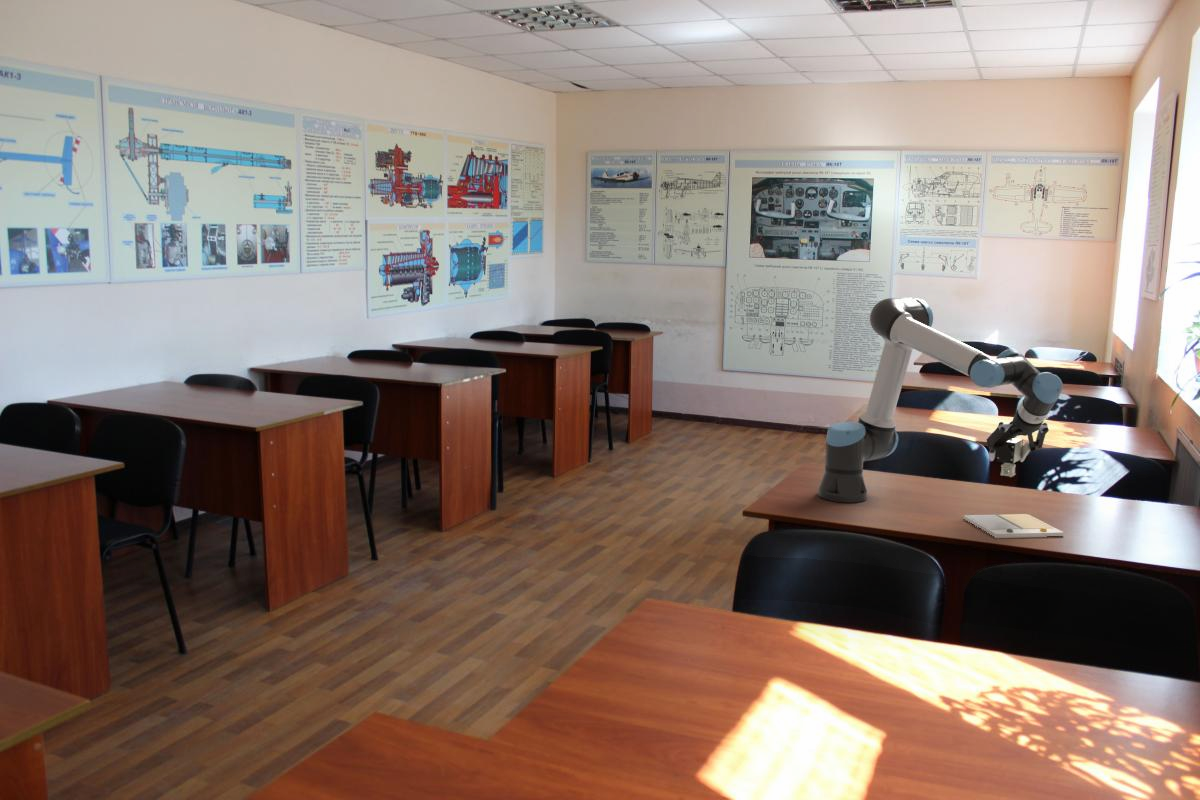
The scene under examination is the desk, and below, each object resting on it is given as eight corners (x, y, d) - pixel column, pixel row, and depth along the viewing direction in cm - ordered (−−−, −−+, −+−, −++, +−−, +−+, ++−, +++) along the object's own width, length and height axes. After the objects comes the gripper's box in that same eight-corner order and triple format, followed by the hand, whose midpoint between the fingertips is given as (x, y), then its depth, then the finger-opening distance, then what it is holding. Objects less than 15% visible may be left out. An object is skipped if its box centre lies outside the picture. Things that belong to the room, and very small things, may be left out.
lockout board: (963, 519, 280) (964, 512, 280) (1027, 518, 283) (1028, 511, 282) (995, 538, 263) (996, 530, 262) (1063, 536, 265) (1064, 529, 265)
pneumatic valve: (1021, 473, 289) (1024, 434, 287) (1010, 480, 280) (1013, 440, 278) (1002, 470, 292) (1005, 432, 290) (990, 477, 283) (994, 437, 281)
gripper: (996, 424, 268) (972, 467, 287) (1072, 426, 267) (1044, 468, 286) (990, 403, 273) (968, 446, 291) (1065, 404, 272) (1038, 448, 290)
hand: (1005, 457), depth 288 cm, fingers closed on pneumatic valve, 8 cm apart
